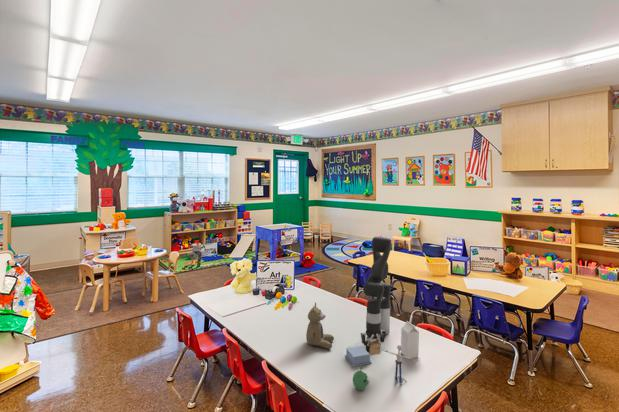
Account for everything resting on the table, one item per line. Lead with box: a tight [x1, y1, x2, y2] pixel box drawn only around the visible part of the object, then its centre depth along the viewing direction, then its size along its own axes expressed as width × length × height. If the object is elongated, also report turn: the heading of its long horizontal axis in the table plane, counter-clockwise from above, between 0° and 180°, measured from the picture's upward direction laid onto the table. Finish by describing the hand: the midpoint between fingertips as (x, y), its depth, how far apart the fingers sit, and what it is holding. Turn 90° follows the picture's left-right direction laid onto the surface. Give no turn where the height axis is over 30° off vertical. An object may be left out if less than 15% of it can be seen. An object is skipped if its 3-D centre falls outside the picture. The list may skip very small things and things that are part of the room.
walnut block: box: [369, 339, 381, 356], centre depth 167 cm, size 6×6×6 cm
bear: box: [305, 301, 335, 350], centre depth 195 cm, size 21×16×25 cm
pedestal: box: [344, 345, 373, 368], centre depth 178 cm, size 11×11×5 cm
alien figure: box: [380, 344, 418, 385], centre depth 158 cm, size 20×5×19 cm, turn 55°
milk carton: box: [400, 320, 420, 359], centre depth 183 cm, size 7×7×19 cm
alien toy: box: [352, 365, 370, 391], centre depth 152 cm, size 7×8×10 cm
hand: (373, 350), depth 167 cm, fingers closed on walnut block, 5 cm apart
